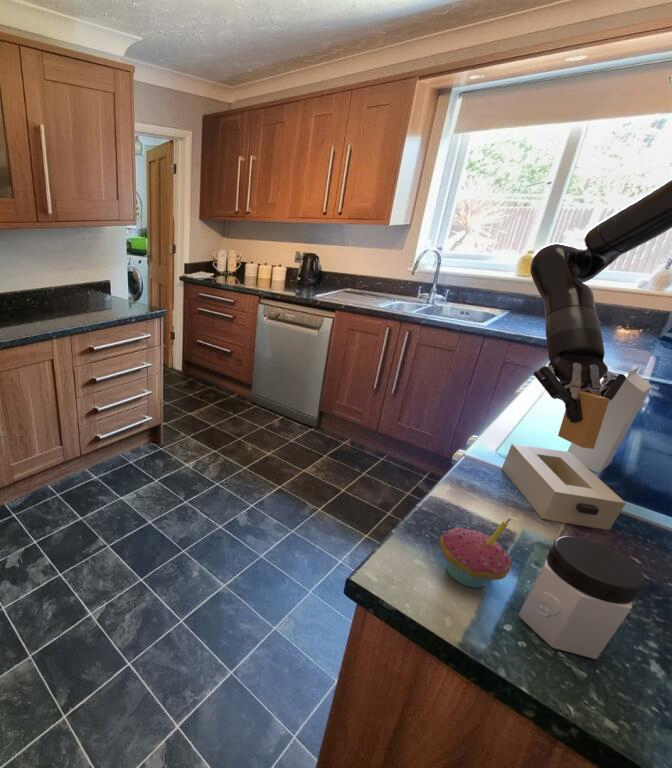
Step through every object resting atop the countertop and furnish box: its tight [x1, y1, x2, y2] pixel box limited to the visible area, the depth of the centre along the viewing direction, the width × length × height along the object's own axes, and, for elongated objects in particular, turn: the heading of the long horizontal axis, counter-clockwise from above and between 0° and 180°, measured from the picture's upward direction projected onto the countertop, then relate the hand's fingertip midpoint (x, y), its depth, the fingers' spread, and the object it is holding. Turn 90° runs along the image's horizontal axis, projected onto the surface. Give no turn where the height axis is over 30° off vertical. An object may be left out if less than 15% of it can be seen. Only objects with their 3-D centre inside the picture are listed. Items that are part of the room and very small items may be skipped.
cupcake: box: [438, 518, 513, 589], centre depth 61 cm, size 9×8×12 cm
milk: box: [566, 365, 653, 474], centre depth 87 cm, size 6×6×22 cm
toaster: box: [501, 443, 626, 531], centre depth 79 cm, size 17×10×6 cm, turn 165°
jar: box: [517, 535, 646, 660], centre depth 54 cm, size 9×8×12 cm
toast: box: [557, 391, 610, 449], centre depth 75 cm, size 2×6×9 cm, turn 164°
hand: (584, 422), depth 75 cm, fingers closed on toast, 1 cm apart
